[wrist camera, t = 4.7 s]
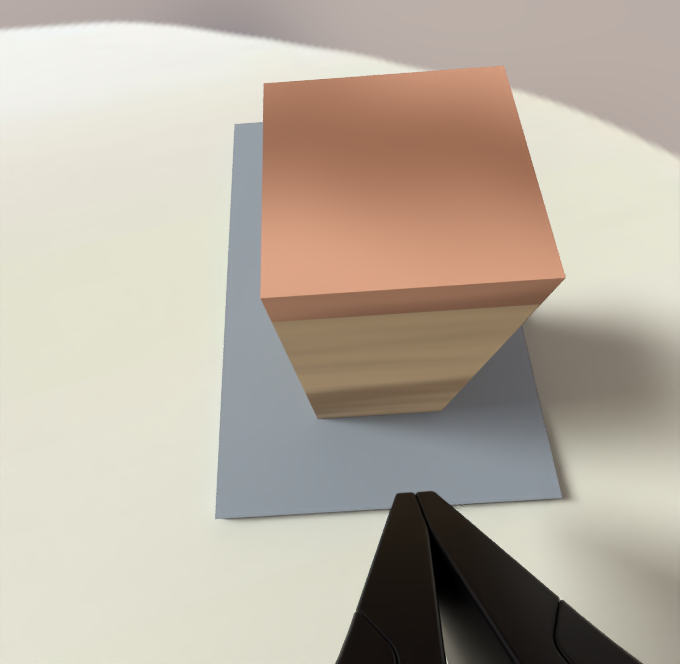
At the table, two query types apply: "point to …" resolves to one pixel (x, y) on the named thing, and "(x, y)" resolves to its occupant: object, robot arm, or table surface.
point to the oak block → (398, 234)
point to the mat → (362, 431)
